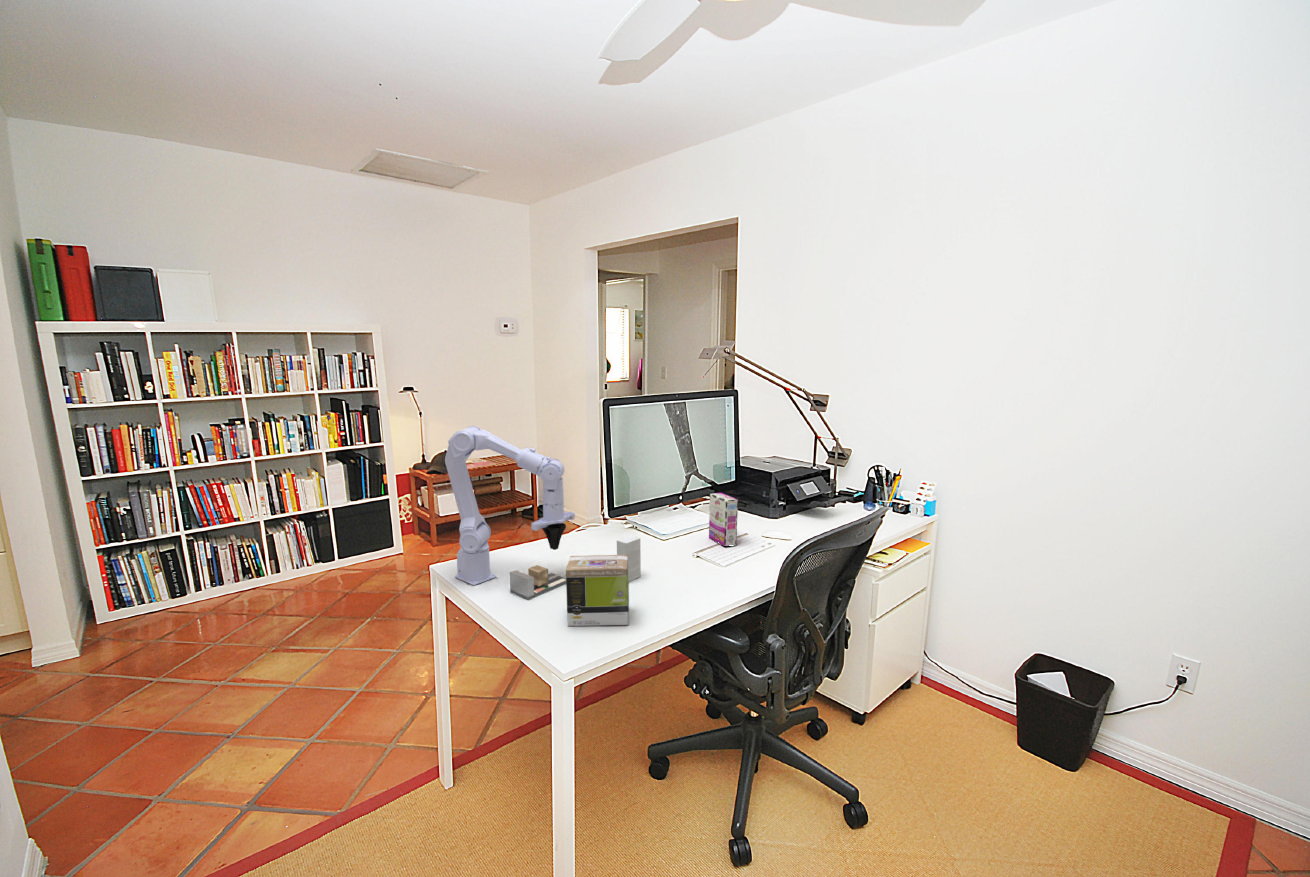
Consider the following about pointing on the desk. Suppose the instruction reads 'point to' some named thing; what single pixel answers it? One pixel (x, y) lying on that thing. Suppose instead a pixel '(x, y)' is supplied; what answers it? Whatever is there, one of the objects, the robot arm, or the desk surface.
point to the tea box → (597, 590)
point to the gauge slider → (539, 575)
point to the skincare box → (631, 554)
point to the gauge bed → (532, 584)
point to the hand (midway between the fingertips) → (554, 548)
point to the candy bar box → (723, 519)
